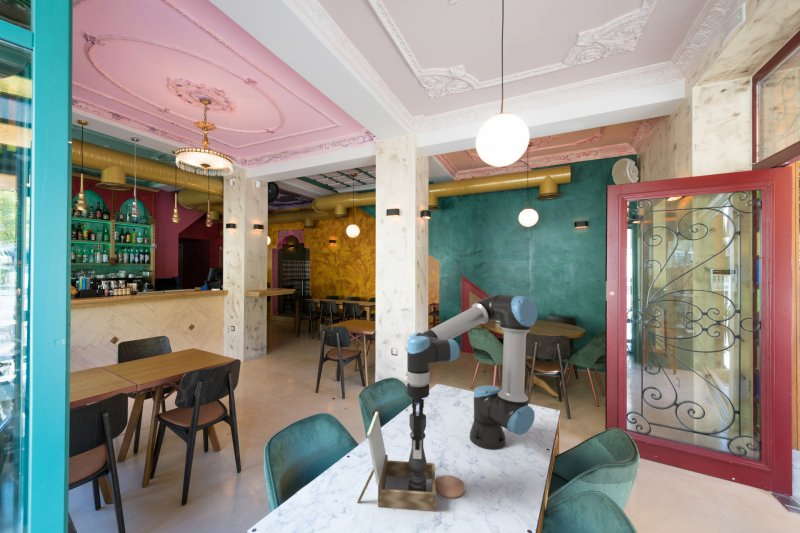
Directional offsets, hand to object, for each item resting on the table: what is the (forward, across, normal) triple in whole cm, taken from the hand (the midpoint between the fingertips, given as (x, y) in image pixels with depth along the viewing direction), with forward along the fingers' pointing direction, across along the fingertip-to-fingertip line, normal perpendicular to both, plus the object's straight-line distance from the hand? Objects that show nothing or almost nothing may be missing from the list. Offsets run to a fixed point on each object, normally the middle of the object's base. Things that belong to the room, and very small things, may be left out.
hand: (417, 452), depth 103 cm
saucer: (+13, -3, +11) cm, 17 cm away
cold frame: (+13, 0, -7) cm, 14 cm away
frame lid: (+6, 0, -14) cm, 15 cm away
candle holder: (+13, 0, 0) cm, 13 cm away
